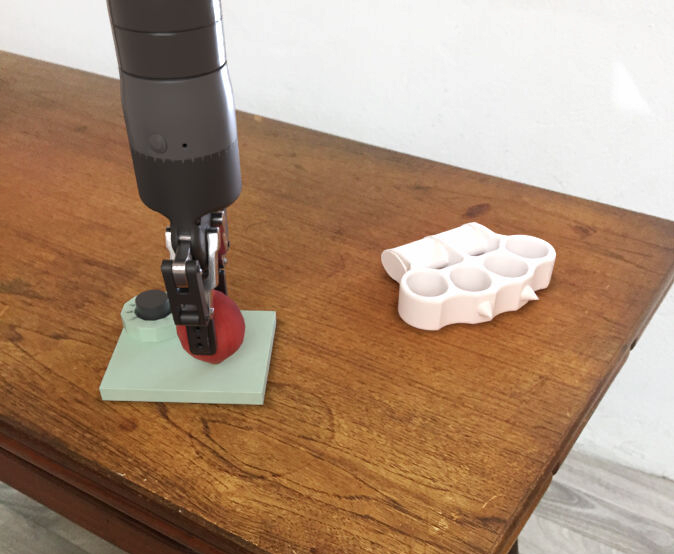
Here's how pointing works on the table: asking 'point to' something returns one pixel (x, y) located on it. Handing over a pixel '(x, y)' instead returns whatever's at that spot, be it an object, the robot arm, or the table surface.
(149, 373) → the scale
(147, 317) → the button
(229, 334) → the onion
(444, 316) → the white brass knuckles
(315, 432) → the table surface
